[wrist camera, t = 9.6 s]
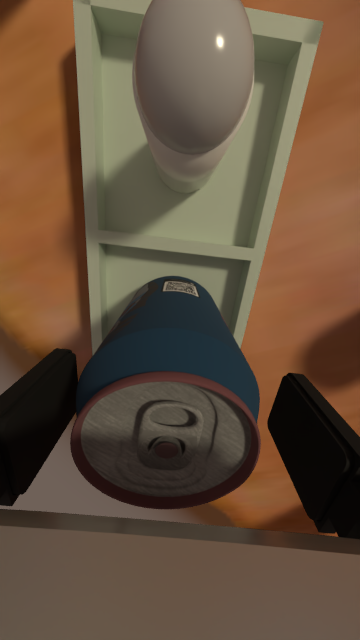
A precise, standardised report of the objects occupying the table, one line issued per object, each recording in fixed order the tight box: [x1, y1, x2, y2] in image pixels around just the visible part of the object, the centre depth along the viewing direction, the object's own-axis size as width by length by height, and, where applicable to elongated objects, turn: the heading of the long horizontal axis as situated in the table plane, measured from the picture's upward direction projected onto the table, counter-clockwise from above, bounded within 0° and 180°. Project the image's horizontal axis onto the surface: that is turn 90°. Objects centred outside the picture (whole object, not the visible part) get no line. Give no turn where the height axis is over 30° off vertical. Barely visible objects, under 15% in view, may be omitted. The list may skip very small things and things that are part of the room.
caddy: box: [73, 0, 323, 356], centre depth 15 cm, size 22×12×2 cm, turn 174°
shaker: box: [132, 0, 254, 194], centre depth 9 cm, size 4×4×9 cm
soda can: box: [70, 276, 261, 509], centre depth 12 cm, size 7×7×12 cm
